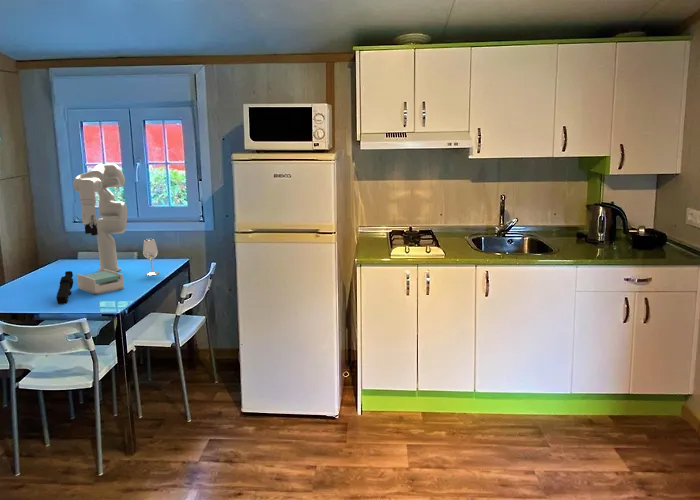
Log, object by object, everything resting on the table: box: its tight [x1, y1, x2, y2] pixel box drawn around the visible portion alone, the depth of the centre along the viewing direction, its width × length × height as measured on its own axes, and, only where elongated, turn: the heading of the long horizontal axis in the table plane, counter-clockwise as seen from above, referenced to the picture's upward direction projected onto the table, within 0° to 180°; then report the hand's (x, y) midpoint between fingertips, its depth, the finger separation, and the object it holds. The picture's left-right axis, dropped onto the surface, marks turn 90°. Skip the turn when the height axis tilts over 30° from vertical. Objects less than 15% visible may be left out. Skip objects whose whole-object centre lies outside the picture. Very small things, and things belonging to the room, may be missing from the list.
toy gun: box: [55, 270, 74, 305], centre depth 299 cm, size 6×25×10 cm, turn 14°
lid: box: [82, 271, 119, 284], centre depth 314 cm, size 16×13×2 cm
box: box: [76, 269, 125, 296], centre depth 315 cm, size 20×15×8 cm
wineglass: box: [142, 238, 160, 276], centre depth 343 cm, size 8×8×20 cm
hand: (91, 234), depth 321 cm, fingers open, 9 cm apart
